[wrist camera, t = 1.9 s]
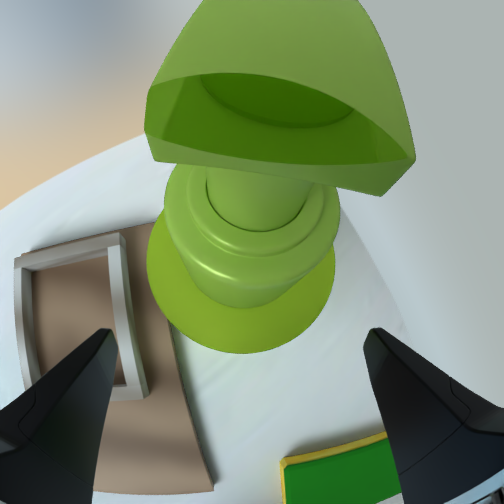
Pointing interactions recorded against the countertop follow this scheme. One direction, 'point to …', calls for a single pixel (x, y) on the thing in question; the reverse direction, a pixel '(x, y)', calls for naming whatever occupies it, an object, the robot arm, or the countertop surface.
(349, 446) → the dish sponge
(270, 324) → the soap dispenser
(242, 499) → the countertop surface
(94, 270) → the walnut holder board
